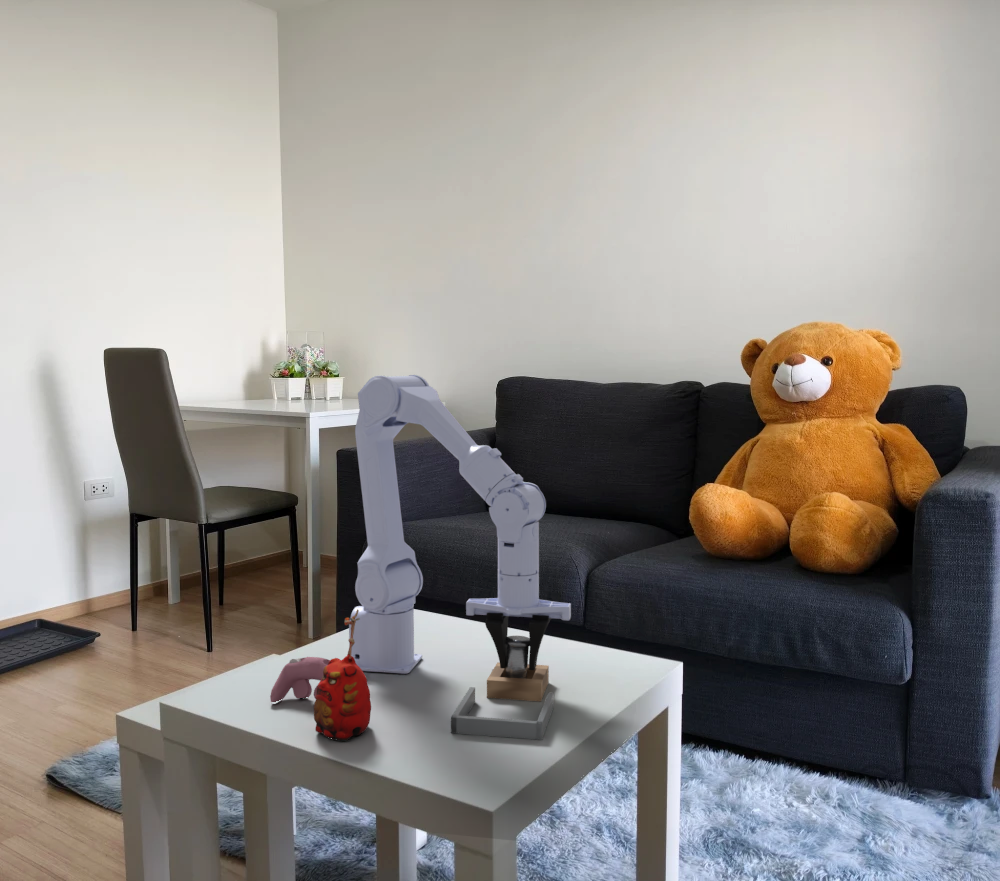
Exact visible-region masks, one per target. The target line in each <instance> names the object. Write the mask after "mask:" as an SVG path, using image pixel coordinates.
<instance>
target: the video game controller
mask: <svg viewBox="0 0 1000 881" xmlns="http://www.w3.org/2000/svg"><path fill="white" fill-rule="evenodd" d="M330 660H331V659H327V658H324V657H318V656H317V657H316V656H306V657H298V658H291V659H290V660H289V662H288V663H286V664H285V665H284V667H283V668H282V669H281V671H280V674H278V677H277V679H276V680H275V682H274V684H273V686H272V689H271V691H270V694H269V695H270V696H269V697H270V698H269V700H270V703H271V702H276V701H279V700H281V699H282V700H283V699H284V698H285V697H286V696H287V694H288V693H289V691H290V690H291V689H292V691H293V696H294V697H295V698H296V699H299V698H306V697H308V698H309V697H310V696H311V695H312V690H313V689H312V685H311V682H310V680H315V681H319V682H320V681H321V679H322V677H323V670H324V667H326V666H327V665H328V663H329V661H330ZM317 686H318V684H317V685H316V687H314V690H313V697H314V699H315V700H316V692H317ZM282 700H281V701H282Z"/></svg>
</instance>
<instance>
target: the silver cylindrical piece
mask: <svg viewBox="0 0 1000 881" xmlns="http://www.w3.org/2000/svg"><path fill="white" fill-rule="evenodd" d="M505 644H506V645H507V659H506V677H507V678H522V679H527V667H528V664H529V651H530V637H529V636H528V637H527V636H523V635H507V637H506V639H505Z"/></svg>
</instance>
